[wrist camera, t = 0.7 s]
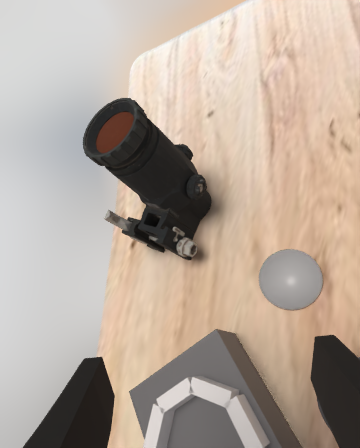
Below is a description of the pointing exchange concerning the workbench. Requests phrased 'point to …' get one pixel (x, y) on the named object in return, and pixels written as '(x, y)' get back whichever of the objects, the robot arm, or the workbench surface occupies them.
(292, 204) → the workbench surface
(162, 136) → the scope
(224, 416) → the camera body
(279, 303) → the grey domed disc
